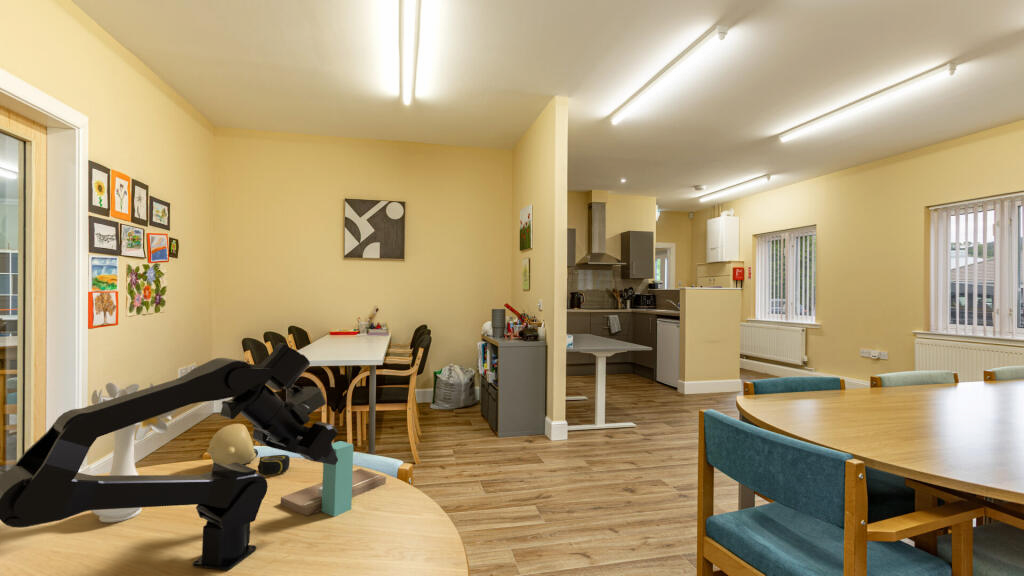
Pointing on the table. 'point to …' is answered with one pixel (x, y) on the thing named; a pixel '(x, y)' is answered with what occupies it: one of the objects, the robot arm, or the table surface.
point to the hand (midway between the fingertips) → (321, 457)
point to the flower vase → (126, 447)
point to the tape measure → (273, 464)
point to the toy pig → (232, 445)
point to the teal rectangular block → (338, 481)
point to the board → (312, 503)
